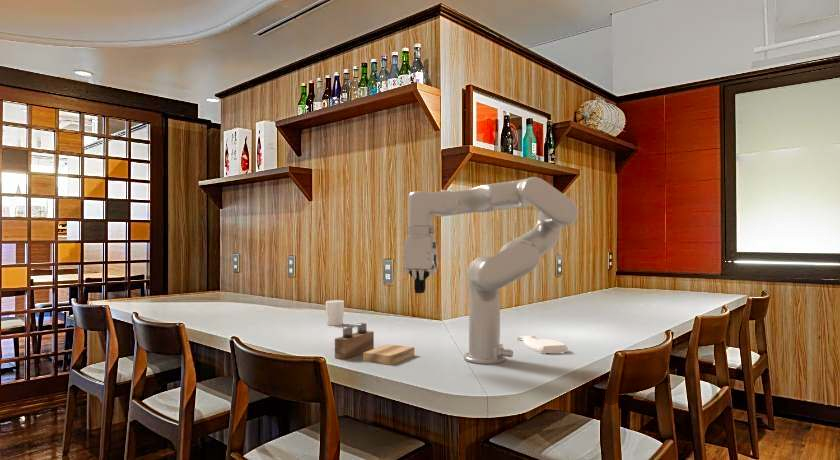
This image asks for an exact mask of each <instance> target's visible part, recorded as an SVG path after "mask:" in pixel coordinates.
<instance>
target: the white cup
mask: <svg viewBox="0 0 840 460" xmlns="http://www.w3.org/2000/svg"><path fill="white" fill-rule="evenodd" d="M344 312H345V301H344V300H341V299H335V300H334V299H331V300H326V301H325V315H326V325H327V326H332V327H334V326H335V327H336V326H342V325H343V323H344V314H345V313H344Z"/></svg>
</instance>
